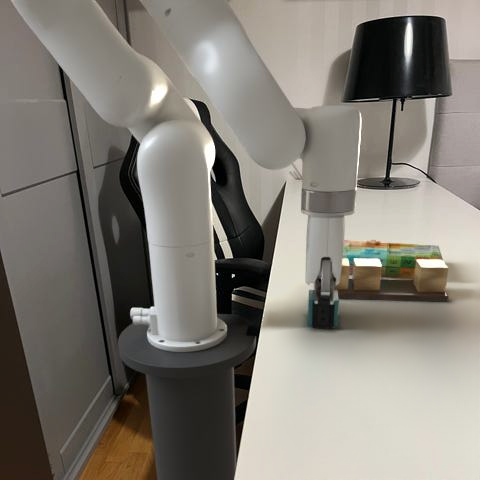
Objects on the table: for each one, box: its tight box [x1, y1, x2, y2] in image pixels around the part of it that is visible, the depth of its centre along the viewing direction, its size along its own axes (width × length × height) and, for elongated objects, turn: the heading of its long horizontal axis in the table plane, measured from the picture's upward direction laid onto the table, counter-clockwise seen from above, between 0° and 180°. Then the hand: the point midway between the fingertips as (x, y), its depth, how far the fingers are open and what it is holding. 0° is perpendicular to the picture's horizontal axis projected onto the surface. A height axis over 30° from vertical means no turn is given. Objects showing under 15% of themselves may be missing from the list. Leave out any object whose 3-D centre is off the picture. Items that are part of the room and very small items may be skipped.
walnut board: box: [334, 278, 449, 303], centre depth 89 cm, size 22×8×1 cm, turn 82°
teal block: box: [307, 289, 340, 329], centre depth 77 cm, size 4×4×4 cm
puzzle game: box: [343, 239, 445, 279], centre depth 99 cm, size 12×5×20 cm
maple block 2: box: [351, 259, 382, 291], centre depth 88 cm, size 4×4×4 cm
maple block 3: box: [413, 259, 449, 292], centre depth 86 cm, size 4×4×4 cm
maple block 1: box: [334, 258, 350, 290], centre depth 89 cm, size 4×4×4 cm
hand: (322, 319), depth 77 cm, fingers closed on teal block, 4 cm apart
